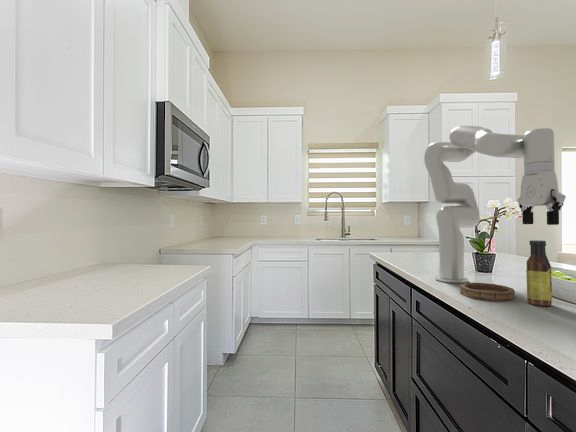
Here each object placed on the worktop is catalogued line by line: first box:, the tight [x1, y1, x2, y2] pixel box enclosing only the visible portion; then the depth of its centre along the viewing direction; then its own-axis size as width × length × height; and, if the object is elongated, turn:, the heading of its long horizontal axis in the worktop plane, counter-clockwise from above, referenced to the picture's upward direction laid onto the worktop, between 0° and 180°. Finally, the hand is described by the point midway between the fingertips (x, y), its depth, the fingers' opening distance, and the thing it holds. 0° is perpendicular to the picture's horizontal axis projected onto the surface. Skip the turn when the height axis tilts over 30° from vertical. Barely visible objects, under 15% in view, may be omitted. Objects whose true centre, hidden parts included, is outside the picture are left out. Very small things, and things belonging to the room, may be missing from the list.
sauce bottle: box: [525, 239, 553, 307], centre depth 102 cm, size 7×6×20 cm
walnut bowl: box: [459, 282, 516, 302], centre depth 114 cm, size 16×16×3 cm
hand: (539, 224), depth 101 cm, fingers open, 9 cm apart
